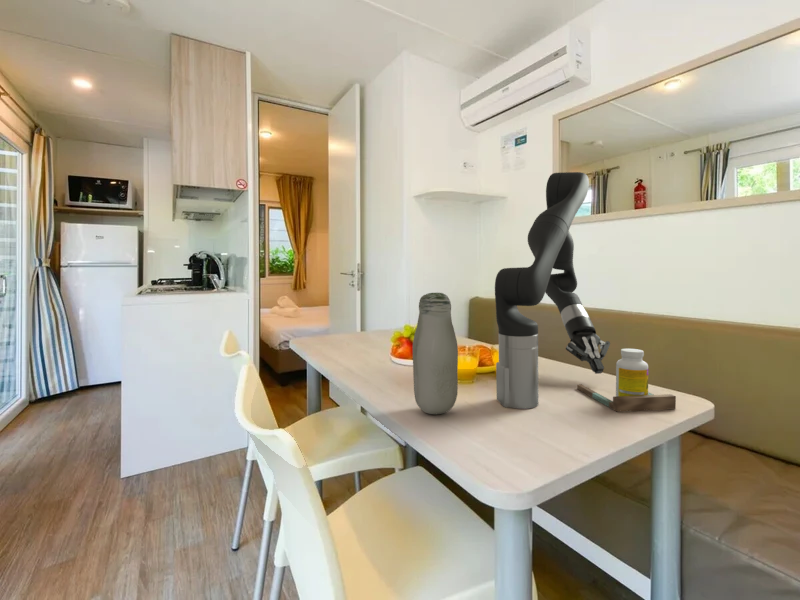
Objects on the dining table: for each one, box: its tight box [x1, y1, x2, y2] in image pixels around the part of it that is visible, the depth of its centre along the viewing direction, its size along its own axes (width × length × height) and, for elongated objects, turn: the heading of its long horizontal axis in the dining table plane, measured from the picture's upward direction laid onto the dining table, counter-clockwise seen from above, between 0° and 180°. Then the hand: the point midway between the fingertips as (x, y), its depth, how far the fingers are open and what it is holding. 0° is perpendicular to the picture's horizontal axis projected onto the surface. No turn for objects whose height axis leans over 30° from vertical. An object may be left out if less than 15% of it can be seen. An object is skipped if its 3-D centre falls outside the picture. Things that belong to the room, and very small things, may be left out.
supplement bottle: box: [615, 347, 649, 397], centre depth 91 cm, size 7×7×13 cm
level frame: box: [576, 383, 677, 413], centre depth 95 cm, size 14×18×3 cm
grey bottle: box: [412, 292, 459, 415], centre depth 88 cm, size 10×10×28 cm
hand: (599, 372), depth 105 cm, fingers closed
